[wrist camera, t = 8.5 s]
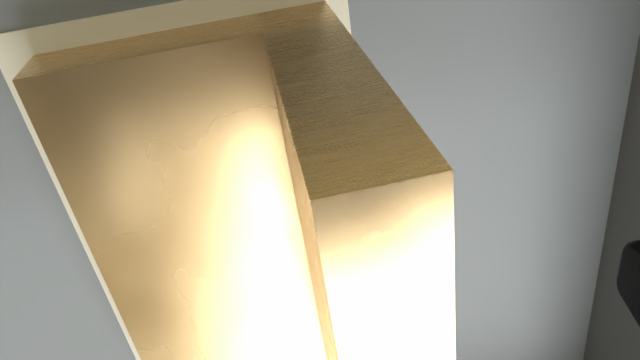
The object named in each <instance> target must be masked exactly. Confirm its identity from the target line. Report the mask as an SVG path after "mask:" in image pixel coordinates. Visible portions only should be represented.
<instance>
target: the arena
mask: <svg viewBox="0 0 640 360" xmlns="http://www.w3.org/2000/svg"><path fill="white" fill-rule="evenodd" d="M321 1H326V2H327V4H328V5H329V6H330V8H331V9H332V10H333V12H334V13H335V14H336V16H337V17H338V18H339V20H340V21H341V22H342V24H343V25H344V26H345V28H346V29H347V30H348V32H349V33H350V34H351V35H352V37H353V38H354V39H355V41H356V42H357V43H358V45H359V46H360V47H361V49H362V50H363V51H364V53H365V54H366V55H367V57H368V58H369V59H370V61H371V62H372V63H373V65H374V66H375V67H376V69H377V70H378V71H379V72H380V74H381V75H382V76H383V78H384V79H385V80H386V82H387V83H388V84H389V86H390V87H391V88H392V90H393V91H394V92H395V94H396V95H397V96H398V98H399V99H400V100H401V102H402V103H403V104H404V106H405V107H406V108H407V109H408V111H409V112H410V113H411V115H412V116H413V117H414V119H415V120H416V121H417V123H418V124H419V125H420V127H421V128H422V129H423V131H424V132H425V133H426V135H427V136H428V137H429V139H430V140H431V141H432V142H433V144H434V145H435V146H436V148H437V149H438V150H439V152H440V153H441V154H442V156H443V157H444V158H445V160H446V161H447V162H448V164H449V165H450V166H451V168H452V169H453V170H454V253H455V344H456V360H640V328H639V326H638V324H637V323H636V321H635V319H634V318H633V316H632V314H631V313H630V311H629V309H628V308H627V306H626V304H625V303H624V301H623V299H622V298H621V296H620V294H619V292H618V289H617V284H616V278H617V273H618V268H619V263H620V258H621V252H622V249H623V247H624V245H625V244H626V243H628V242H631V241H635V240H640V0H0V360H141V359H140V356H139V354H138V352H137V350H136V348H135V346H134V343H133V341H132V339H131V337H130V335H129V333H128V330H127V328H126V326H125V324H124V322H123V320H122V317H121V315H120V313H119V311H118V309H117V307H116V304H115V302H114V300H113V298H112V296H111V294H110V291H109V289H108V287H107V285H106V283H105V281H104V278H103V276H102V274H101V272H100V270H99V268H98V266H97V263H96V261H95V259H94V257H93V255H92V253H91V250H90V248H89V246H88V244H87V242H86V240H85V237H84V235H83V233H82V231H81V229H80V227H79V224H78V222H77V220H76V218H75V216H74V214H73V211H72V209H71V207H70V205H69V203H68V201H67V198H66V196H65V194H64V192H63V190H62V188H61V185H60V183H59V181H58V179H57V177H56V175H55V172H54V170H53V168H52V166H51V164H50V162H49V160H48V157H47V155H46V153H45V151H44V149H43V147H42V144H41V142H40V140H39V138H38V136H37V134H36V131H35V129H34V127H33V125H32V123H31V121H30V118H29V116H28V114H27V112H26V110H25V108H24V105H23V103H22V101H21V99H20V97H19V95H18V92H17V90H16V88H15V86H14V84H13V82H12V79H13V78H14V77H15V76H16V75H17V74H18V73H19V71H20V70H21V69H22V68H23V67H24V66H25V64H26V63H27V62H28V61H29V60H30V59H31V57H32V56H33V55H36V54H41V53H47V52H52V51H57V50H63V49H68V48H74V47H79V46H84V45H90V44H95V43H100V42H106V41H111V40H117V39H122V38H127V37H133V36H138V35H143V34H149V33H154V32H160V31H165V30H170V29H176V28H181V27H187V26H192V25H197V24H203V23H208V22H213V21H219V20H224V19H230V18H235V17H240V16H246V15H251V14H256V13H262V12H267V11H273V10H278V9H283V8H289V7H294V6H300V5H305V4H310V3H316V2H321Z"/></svg>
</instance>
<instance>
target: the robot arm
mask: <svg viewBox="0 0 640 360" xmlns="http://www.w3.org/2000/svg"><path fill="white" fill-rule="evenodd" d="M616 284H617V289H618V292H619V294H620V296H621V298H622V299H623V301H624V303H625V304H626V306H627V308H628V309H629V311H630V313H631V314H632V316H633V318H634V319H635V321H636V323H637V324H638V326H639V328H640V240H635V241H631V242H628V243H626V244H625V245H624V247H623V249H622V252H621V258H620V263H619V268H618V273H617V278H616Z"/></svg>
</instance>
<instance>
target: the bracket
mask: <svg viewBox="0 0 640 360" xmlns="http://www.w3.org/2000/svg"><path fill="white" fill-rule="evenodd" d="M12 82H13V84H14V86H15V88H16V90H17V92H18V95H19V97H20V99H21V101H22V103H23V105H24V108H25V110H26V112H27V114H28V116H29V118H30V121H31V123H32V125H33V127H34V129H35V131H36V134H37V136H38V138H39V140H40V142H41V144H42V147H43V149H44V151H45V153H46V155H47V157H48V160H49V162H50V164H51V166H52V168H53V170H54V172H55V175H56V177H57V179H58V181H59V183H60V185H61V188H62V190H63V192H64V194H65V196H66V198H67V201H68V203H69V205H70V207H71V209H72V211H73V214H74V216H75V218H76V220H77V222H78V224H79V227H80V229H81V231H82V233H83V235H84V237H85V240H86V242H87V244H88V246H89V248H90V250H91V253H92V255H93V257H94V259H95V261H96V263H97V266H98V268H99V270H100V272H101V274H102V276H103V278H104V281H105V283H106V285H107V287H108V289H109V291H110V294H111V296H112V298H113V300H114V302H115V304H116V307H117V309H118V311H119V313H120V315H121V317H122V320H123V322H124V324H125V326H126V328H127V330H128V333H129V335H130V337H131V339H132V341H133V343H134V346H135V348H136V350H137V352H138V354H139V356H140V359H141V360H456V344H455V253H454V170H453V169H452V168H451V166H450V165H449V164H448V162H447V161H446V160H445V158H444V157H443V156H442V154H441V153H440V152H439V150H438V149H437V148H436V146H435V145H434V144H433V142H432V141H431V140H430V139H429V137H428V136H427V135H426V133H425V132H424V131H423V129H422V128H421V127H420V125H419V124H418V123H417V121H416V120H415V119H414V117H413V116H412V115H411V113H410V112H409V111H408V109H407V108H406V107H405V106H404V104H403V103H402V102H401V100H400V99H399V98H398V96H397V95H396V94H395V92H394V91H393V90H392V88H391V87H390V86H389V84H388V83H387V82H386V80H385V79H384V78H383V76H382V75H381V74H380V72H379V71H378V70H377V69H376V67H375V66H374V65H373V63H372V62H371V61H370V59H369V58H368V57H367V55H366V54H365V53H364V51H363V50H362V49H361V47H360V46H359V45H358V43H357V42H356V41H355V39H354V38H353V37H352V35H351V34H350V33H349V32H348V30H347V29H346V28H345V26H344V25H343V24H342V22H341V21H340V20H339V18H338V17H337V16H336V14H335V13H334V12H333V10H332V9H331V8H330V6H329V5H328V4H327V2H326V1H321V2H316V3H310V4H305V5H300V6H294V7H289V8H283V9H278V10H273V11H267V12H262V13H256V14H251V15H246V16H240V17H235V18H230V19H224V20H219V21H213V22H208V23H203V24H197V25H192V26H187V27H181V28H176V29H170V30H165V31H160V32H154V33H149V34H143V35H138V36H133V37H127V38H122V39H117V40H111V41H106V42H100V43H95V44H90V45H84V46H79V47H74V48H68V49H63V50H57V51H52V52H47V53H41V54H36V55H33V56H32V57H31V59H30V60H29V61H28V62H27V63H26V64H25V66H24V67H23V68H22V69H21V70H20V71H19V73H18V74H17V75H16V76H15V77H14V78H13V79H12Z"/></svg>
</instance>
